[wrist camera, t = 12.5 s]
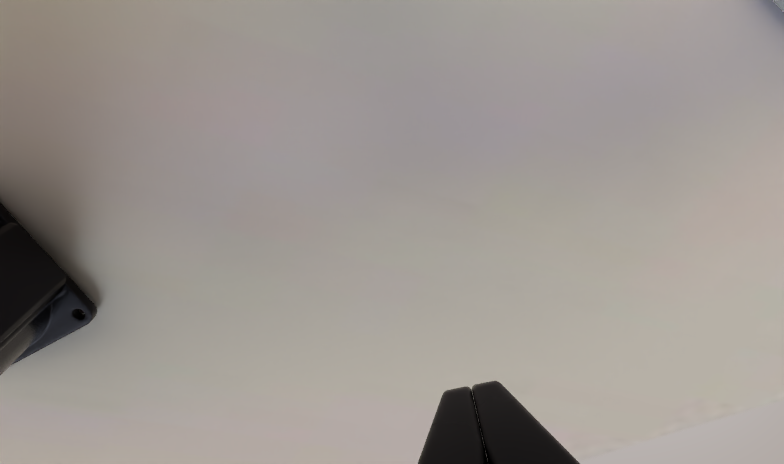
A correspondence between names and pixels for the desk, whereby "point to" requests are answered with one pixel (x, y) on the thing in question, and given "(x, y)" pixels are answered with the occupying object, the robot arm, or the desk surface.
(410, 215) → the desk surface
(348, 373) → the desk surface
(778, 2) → the medicine box
